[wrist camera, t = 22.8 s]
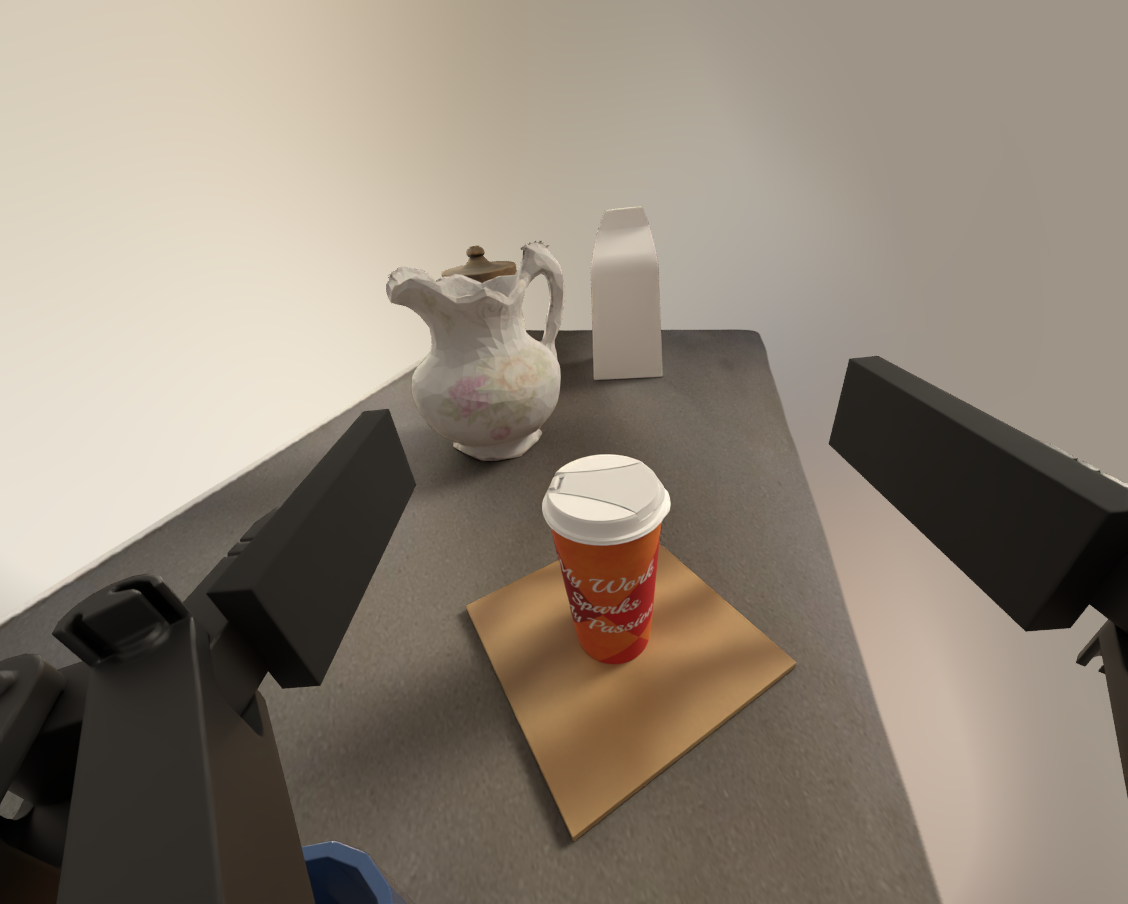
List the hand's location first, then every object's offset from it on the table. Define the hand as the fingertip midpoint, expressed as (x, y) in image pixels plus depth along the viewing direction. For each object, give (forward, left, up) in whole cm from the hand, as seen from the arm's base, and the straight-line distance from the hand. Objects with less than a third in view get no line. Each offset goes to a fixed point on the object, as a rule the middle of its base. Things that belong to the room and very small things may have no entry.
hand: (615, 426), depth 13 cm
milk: (+54, -40, -24) cm, 71 cm away
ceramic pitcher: (+44, -11, -24) cm, 51 cm away
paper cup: (+9, -5, -23) cm, 25 cm away
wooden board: (+9, -5, -24) cm, 26 cm away
